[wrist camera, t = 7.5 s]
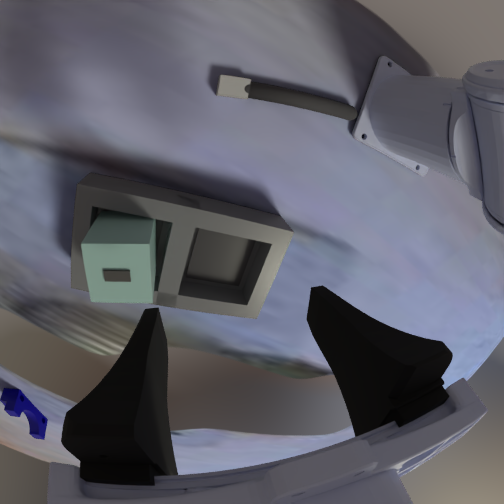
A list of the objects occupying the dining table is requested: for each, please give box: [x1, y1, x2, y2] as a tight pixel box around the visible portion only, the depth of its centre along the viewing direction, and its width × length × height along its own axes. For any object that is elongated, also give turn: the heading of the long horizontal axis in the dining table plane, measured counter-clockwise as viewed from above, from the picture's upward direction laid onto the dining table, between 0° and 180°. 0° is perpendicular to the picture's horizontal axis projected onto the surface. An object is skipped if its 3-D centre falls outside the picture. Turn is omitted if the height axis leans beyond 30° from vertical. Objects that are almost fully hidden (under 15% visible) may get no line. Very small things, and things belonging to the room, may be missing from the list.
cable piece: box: [216, 75, 357, 120], centre depth 18 cm, size 11×1×1 cm, turn 80°
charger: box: [81, 211, 157, 303], centre depth 18 cm, size 4×4×5 cm
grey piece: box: [71, 173, 294, 319], centre depth 21 cm, size 15×8×3 cm, turn 70°
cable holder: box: [0, 388, 48, 440], centre depth 27 cm, size 8×4×4 cm, turn 2°
